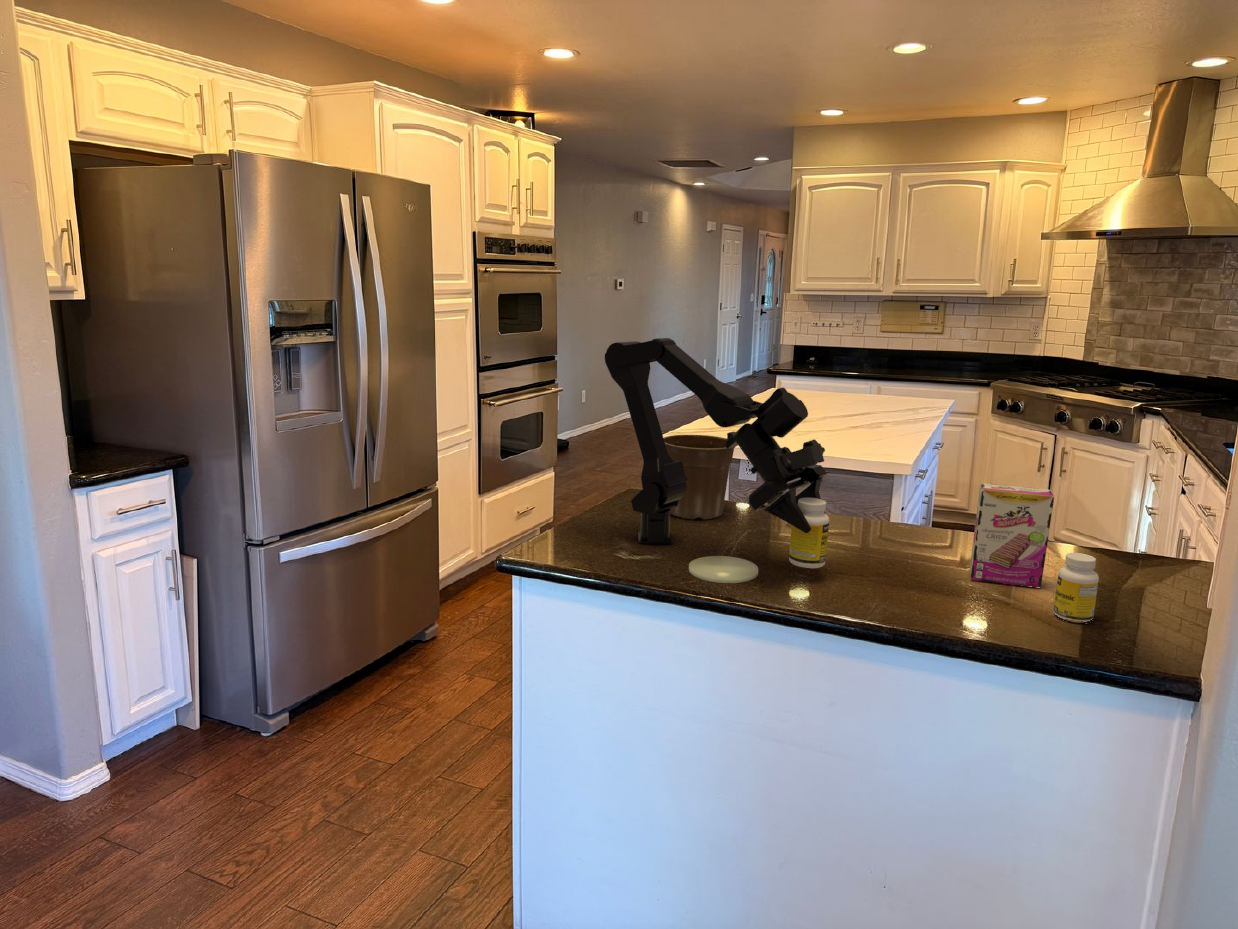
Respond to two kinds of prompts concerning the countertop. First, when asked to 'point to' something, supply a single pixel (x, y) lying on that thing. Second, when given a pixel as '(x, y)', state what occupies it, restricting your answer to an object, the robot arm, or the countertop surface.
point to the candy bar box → (1011, 534)
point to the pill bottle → (810, 535)
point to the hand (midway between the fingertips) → (817, 527)
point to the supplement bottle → (1076, 588)
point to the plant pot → (701, 474)
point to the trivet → (723, 569)
